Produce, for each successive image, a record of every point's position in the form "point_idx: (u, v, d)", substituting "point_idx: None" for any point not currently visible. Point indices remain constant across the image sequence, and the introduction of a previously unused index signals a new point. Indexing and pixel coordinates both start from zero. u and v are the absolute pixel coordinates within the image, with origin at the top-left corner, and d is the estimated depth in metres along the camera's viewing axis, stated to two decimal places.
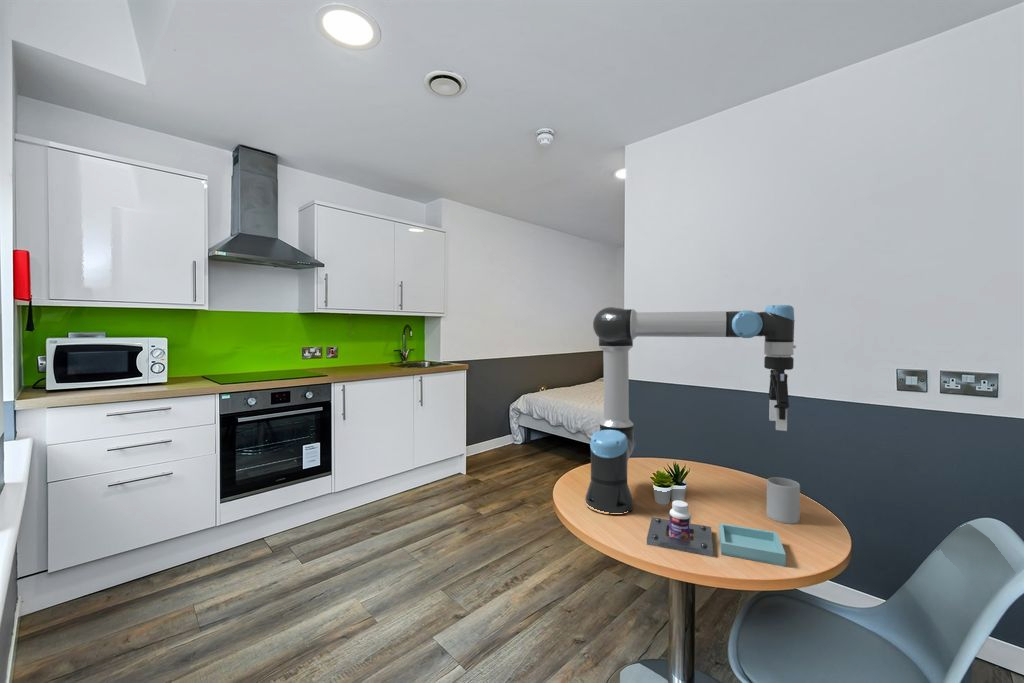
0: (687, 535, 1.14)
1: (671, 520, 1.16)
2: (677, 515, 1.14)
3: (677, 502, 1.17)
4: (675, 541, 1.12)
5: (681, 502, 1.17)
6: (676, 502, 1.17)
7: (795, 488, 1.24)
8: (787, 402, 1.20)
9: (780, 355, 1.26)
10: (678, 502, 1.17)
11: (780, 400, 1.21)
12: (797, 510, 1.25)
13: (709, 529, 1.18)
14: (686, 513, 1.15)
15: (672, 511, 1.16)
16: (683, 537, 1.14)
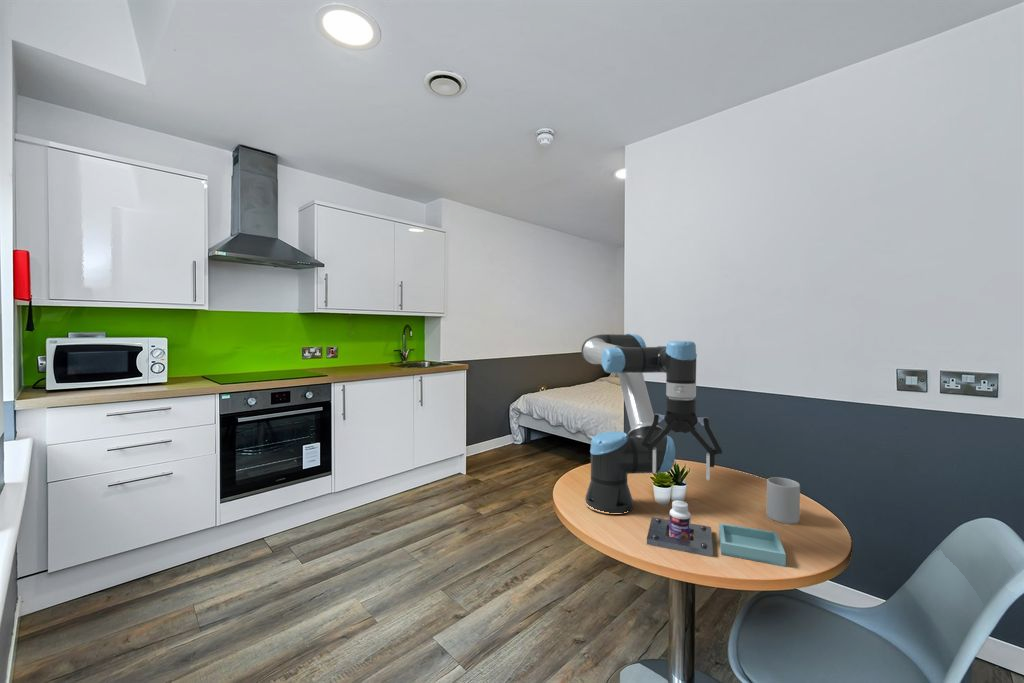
0: (687, 535, 1.14)
1: (671, 520, 1.16)
2: (677, 514, 1.14)
3: (677, 502, 1.17)
4: (675, 541, 1.12)
5: (681, 502, 1.17)
6: (676, 502, 1.17)
7: (795, 488, 1.24)
8: (643, 440, 1.19)
9: (667, 395, 1.17)
10: (678, 502, 1.17)
11: None
12: (797, 510, 1.25)
13: (709, 529, 1.18)
14: (686, 513, 1.15)
15: (672, 511, 1.16)
16: (683, 537, 1.14)
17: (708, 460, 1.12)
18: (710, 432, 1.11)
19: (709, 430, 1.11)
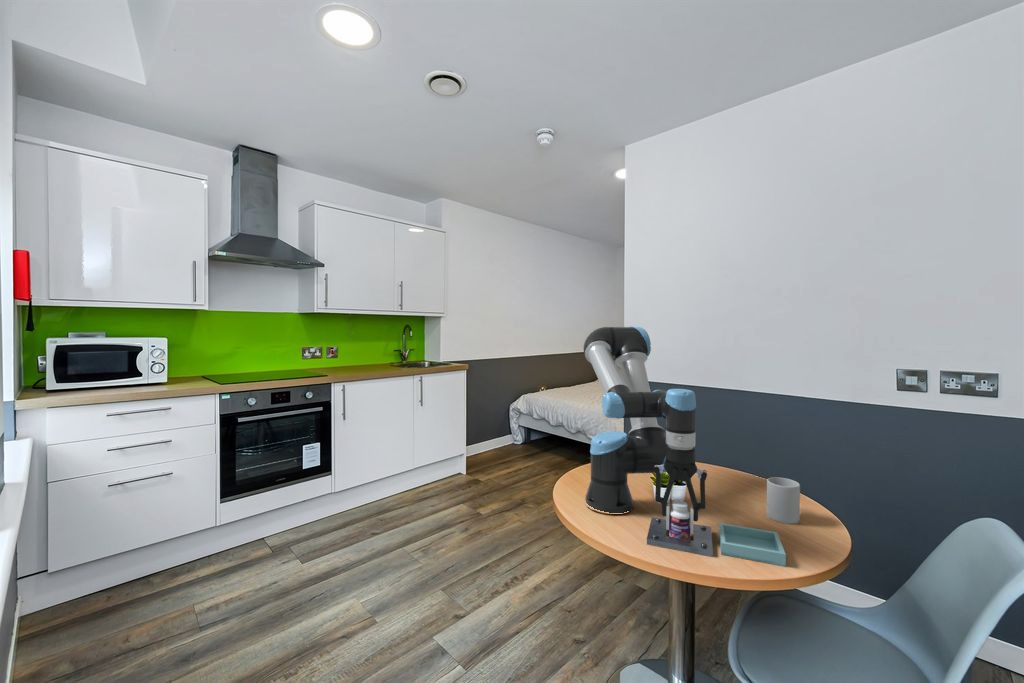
0: (687, 535, 1.14)
1: (671, 520, 1.16)
2: (677, 514, 1.14)
3: (677, 502, 1.17)
4: (675, 541, 1.12)
5: (681, 502, 1.17)
6: (676, 502, 1.17)
7: (795, 488, 1.24)
8: None
9: None
10: (678, 502, 1.17)
11: None
12: (797, 510, 1.25)
13: (709, 529, 1.18)
14: (686, 513, 1.15)
15: (672, 511, 1.16)
16: (683, 537, 1.14)
17: (692, 515, 1.14)
18: (703, 487, 1.13)
19: (703, 485, 1.13)
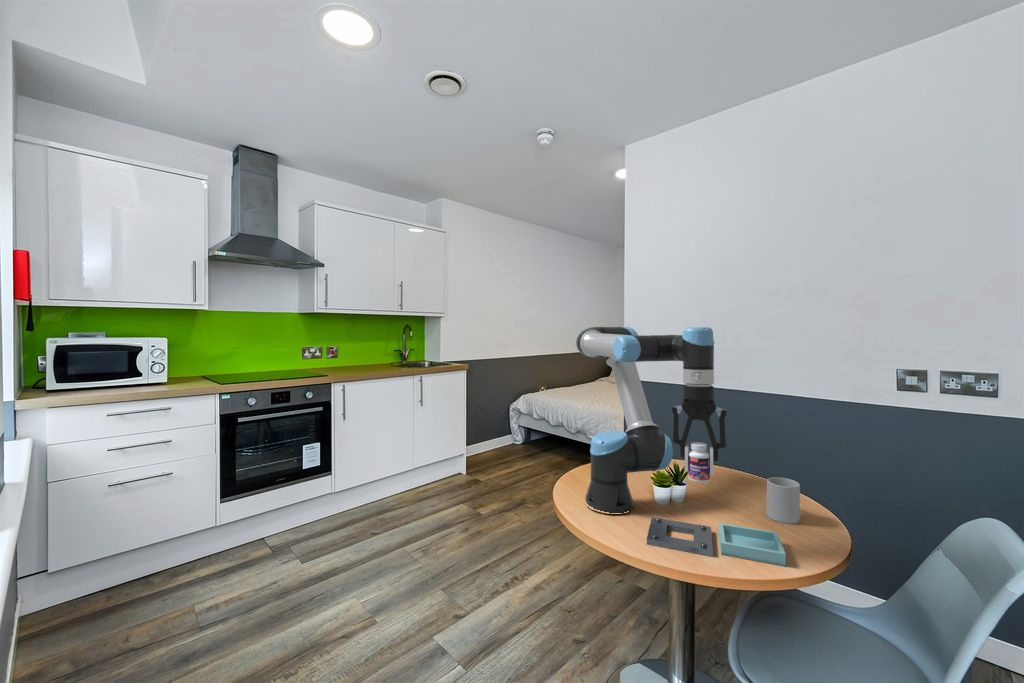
0: (707, 476, 1.11)
1: (690, 461, 1.13)
2: (695, 454, 1.12)
3: (696, 443, 1.14)
4: (675, 541, 1.12)
5: (700, 443, 1.14)
6: (694, 443, 1.14)
7: (795, 488, 1.24)
8: None
9: (684, 382, 1.15)
10: (697, 443, 1.14)
11: None
12: (797, 510, 1.25)
13: (709, 529, 1.18)
14: (705, 453, 1.12)
15: (691, 452, 1.13)
16: (703, 477, 1.11)
17: (711, 454, 1.11)
18: (722, 424, 1.10)
19: (722, 422, 1.10)
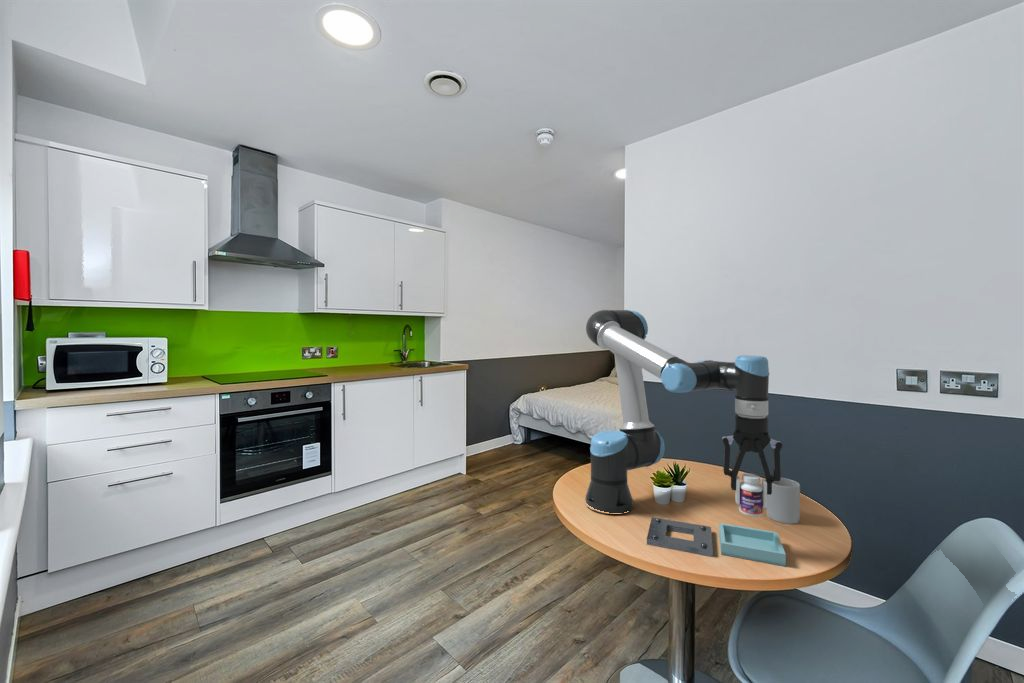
0: (760, 509, 1.08)
1: (742, 493, 1.09)
2: (749, 487, 1.08)
3: (748, 475, 1.10)
4: (675, 541, 1.12)
5: (752, 475, 1.10)
6: (746, 474, 1.11)
7: (795, 488, 1.24)
8: (724, 469, 1.12)
9: None
10: (748, 474, 1.11)
11: None
12: (797, 510, 1.25)
13: (709, 529, 1.18)
14: (758, 486, 1.08)
15: (743, 484, 1.10)
16: (757, 511, 1.07)
17: (765, 487, 1.07)
18: (777, 457, 1.06)
19: (777, 455, 1.06)
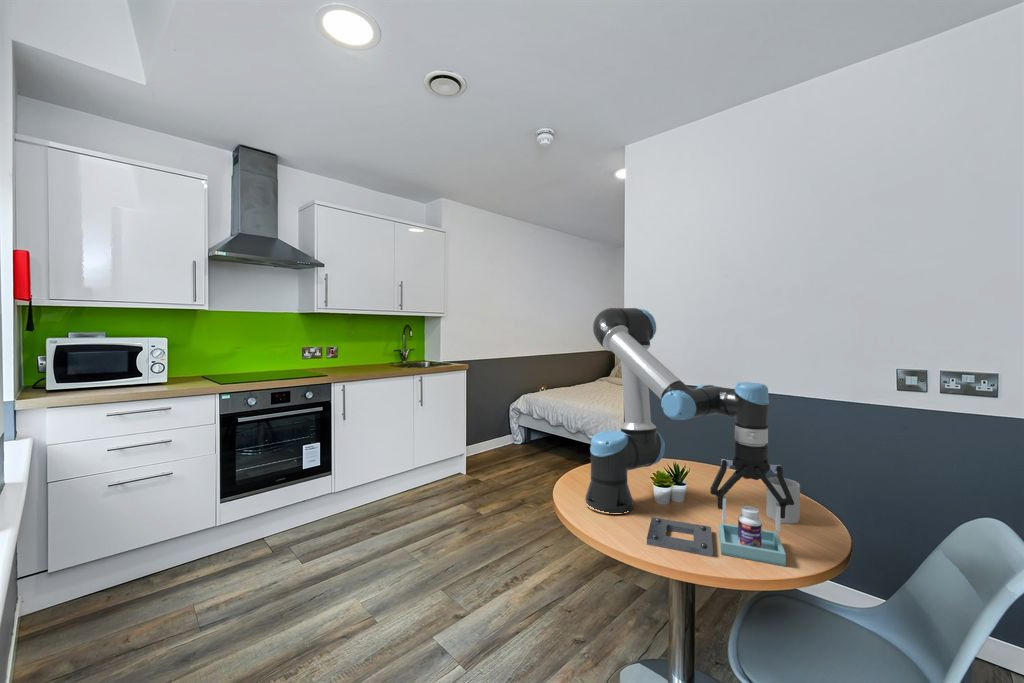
0: (759, 543, 1.08)
1: (741, 527, 1.10)
2: (748, 521, 1.08)
3: (747, 508, 1.11)
4: (675, 541, 1.12)
5: (751, 508, 1.11)
6: (745, 508, 1.11)
7: (795, 488, 1.24)
8: (711, 488, 1.13)
9: (736, 439, 1.11)
10: (747, 507, 1.11)
11: (712, 485, 1.14)
12: (797, 510, 1.25)
13: (709, 529, 1.18)
14: (757, 520, 1.09)
15: (742, 517, 1.10)
16: (755, 545, 1.08)
17: (779, 511, 1.07)
18: (783, 482, 1.06)
19: (782, 479, 1.06)
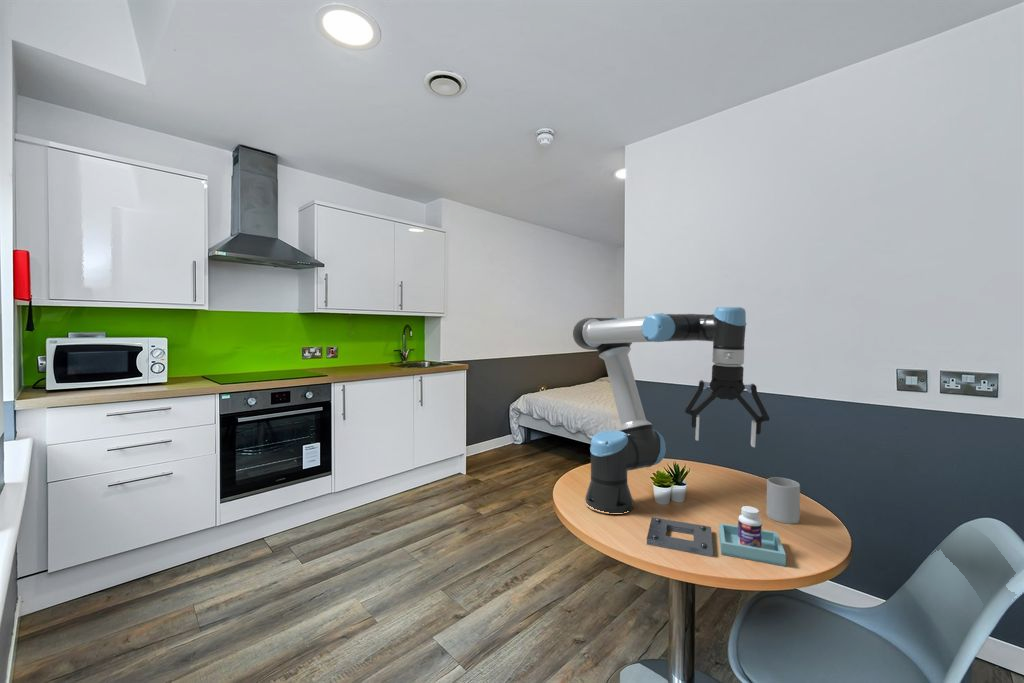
0: (759, 543, 1.08)
1: (741, 527, 1.10)
2: (748, 521, 1.08)
3: (747, 508, 1.11)
4: (675, 541, 1.12)
5: (751, 508, 1.11)
6: (745, 508, 1.11)
7: (795, 488, 1.24)
8: (686, 408, 1.17)
9: (713, 362, 1.15)
10: (747, 507, 1.11)
11: (687, 405, 1.19)
12: (797, 510, 1.25)
13: (709, 529, 1.18)
14: (757, 520, 1.09)
15: (742, 517, 1.10)
16: (755, 545, 1.08)
17: (754, 427, 1.11)
18: (758, 399, 1.10)
19: (757, 397, 1.10)
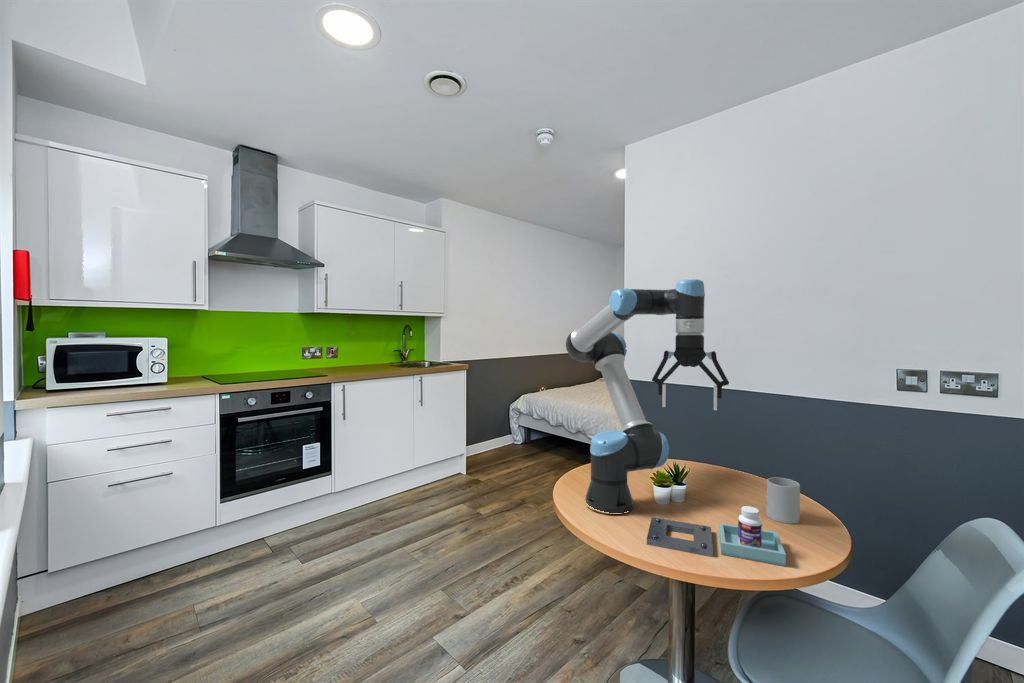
0: (759, 543, 1.08)
1: (741, 527, 1.10)
2: (748, 521, 1.08)
3: (747, 508, 1.11)
4: (675, 541, 1.12)
5: (751, 508, 1.11)
6: (745, 508, 1.11)
7: (795, 488, 1.24)
8: (653, 376, 1.25)
9: (676, 332, 1.23)
10: (747, 507, 1.11)
11: None
12: (797, 510, 1.25)
13: (709, 529, 1.18)
14: (757, 520, 1.09)
15: (742, 517, 1.10)
16: (755, 545, 1.08)
17: (715, 391, 1.18)
18: (717, 365, 1.17)
19: (716, 363, 1.17)
